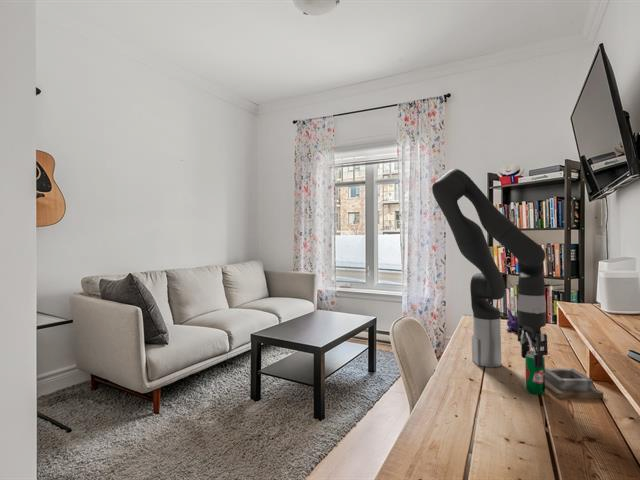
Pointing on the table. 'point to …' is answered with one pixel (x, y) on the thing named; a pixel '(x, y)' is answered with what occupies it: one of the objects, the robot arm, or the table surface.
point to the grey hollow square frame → (570, 384)
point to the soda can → (534, 375)
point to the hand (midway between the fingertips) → (531, 362)
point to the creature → (512, 322)
